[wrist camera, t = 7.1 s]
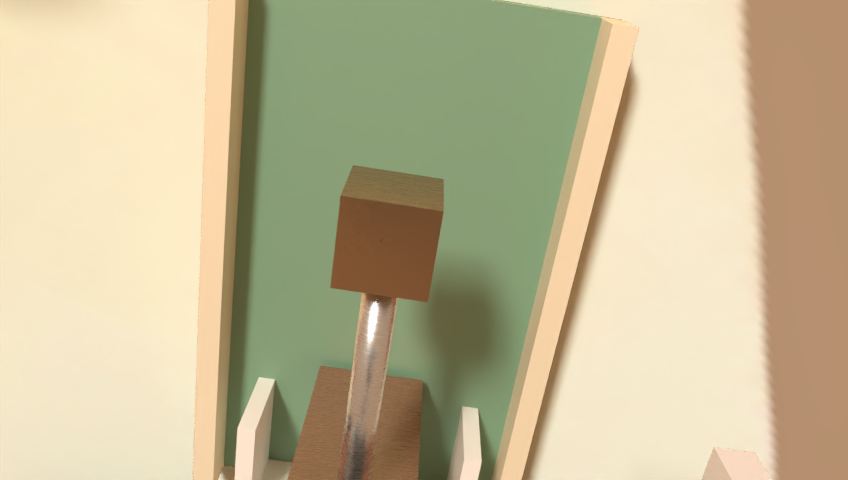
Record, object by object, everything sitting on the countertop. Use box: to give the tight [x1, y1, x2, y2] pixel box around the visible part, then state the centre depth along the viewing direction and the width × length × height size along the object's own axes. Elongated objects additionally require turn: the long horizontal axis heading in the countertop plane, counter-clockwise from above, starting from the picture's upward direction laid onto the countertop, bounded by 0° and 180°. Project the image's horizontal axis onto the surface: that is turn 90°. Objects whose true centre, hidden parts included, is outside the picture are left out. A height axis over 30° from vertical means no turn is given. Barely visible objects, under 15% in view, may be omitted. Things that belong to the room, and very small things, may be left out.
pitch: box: [193, 0, 639, 480], centre depth 32 cm, size 25×16×5 cm, turn 171°
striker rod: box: [287, 165, 444, 480], centre depth 28 cm, size 14×5×10 cm, turn 171°
